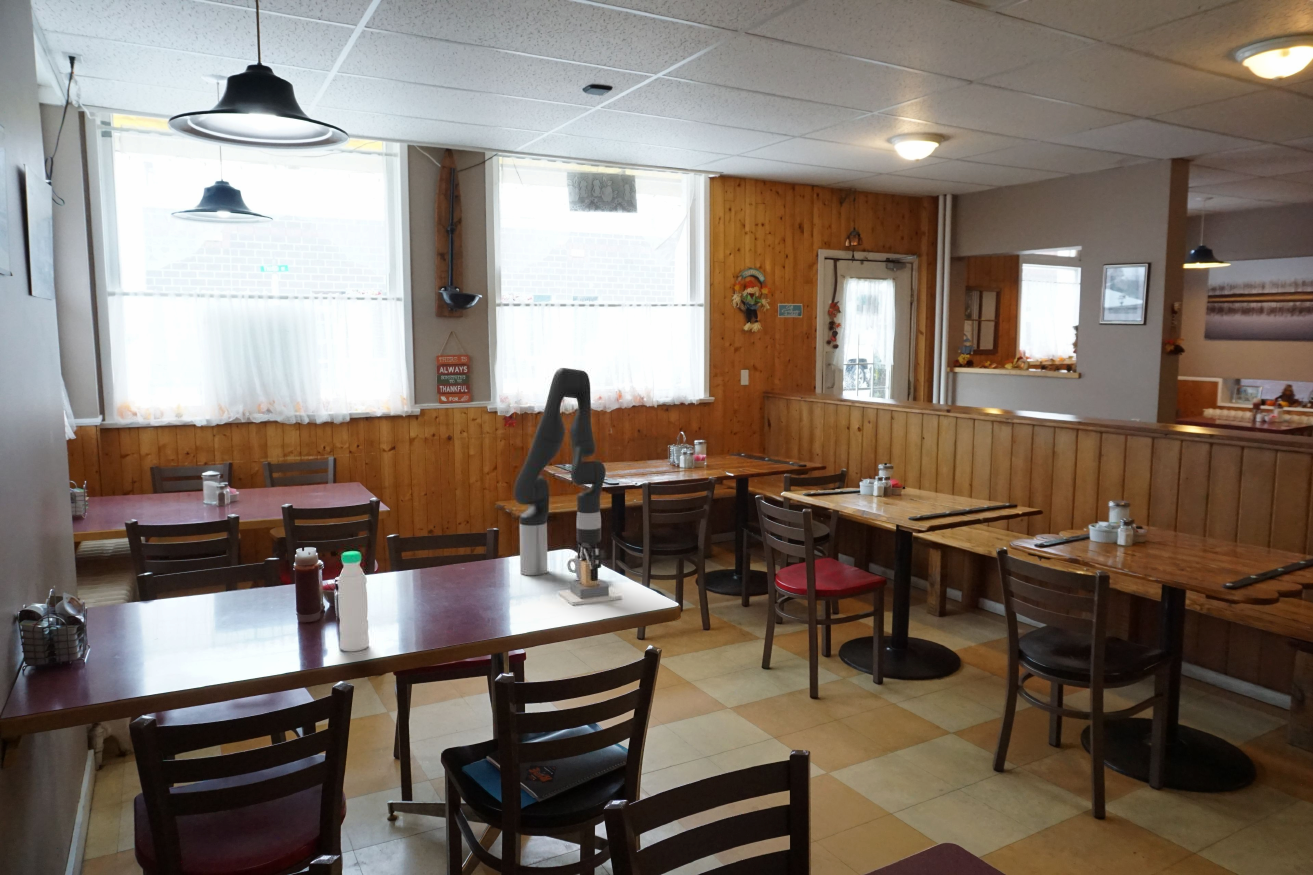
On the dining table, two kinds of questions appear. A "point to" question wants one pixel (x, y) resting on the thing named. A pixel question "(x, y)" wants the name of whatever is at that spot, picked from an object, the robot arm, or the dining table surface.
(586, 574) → the light wood tall block
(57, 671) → the dining table surface
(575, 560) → the cup
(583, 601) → the socket
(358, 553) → the water bottle
